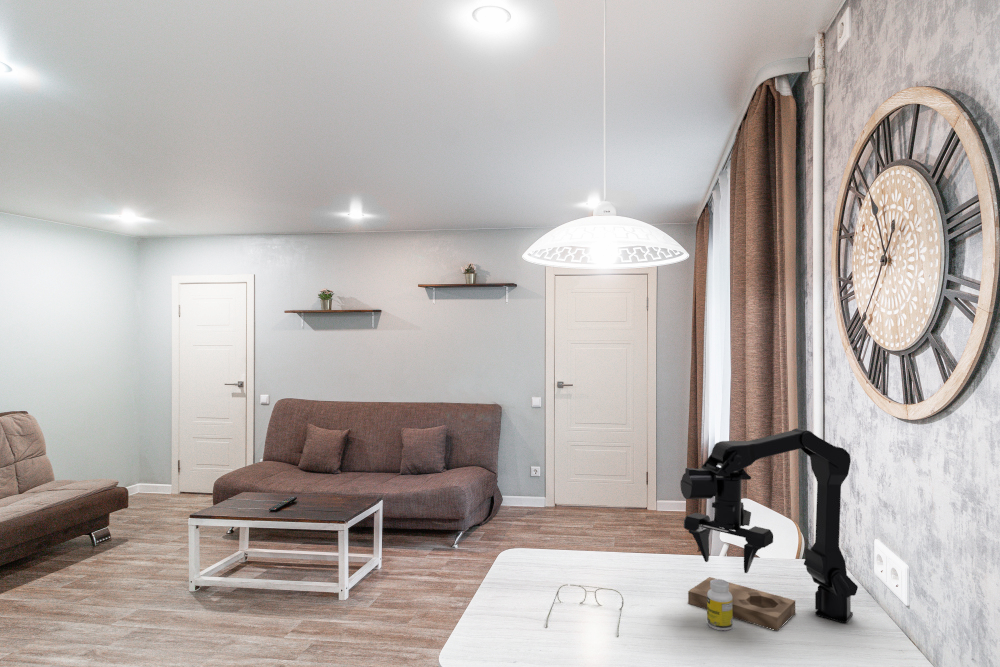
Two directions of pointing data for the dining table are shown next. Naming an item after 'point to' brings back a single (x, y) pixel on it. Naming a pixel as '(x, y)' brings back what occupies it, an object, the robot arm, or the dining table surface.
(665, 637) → the dining table surface
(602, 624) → the dining table surface
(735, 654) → the dining table surface
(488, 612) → the dining table surface
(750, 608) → the socket board
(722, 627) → the supplement bottle
